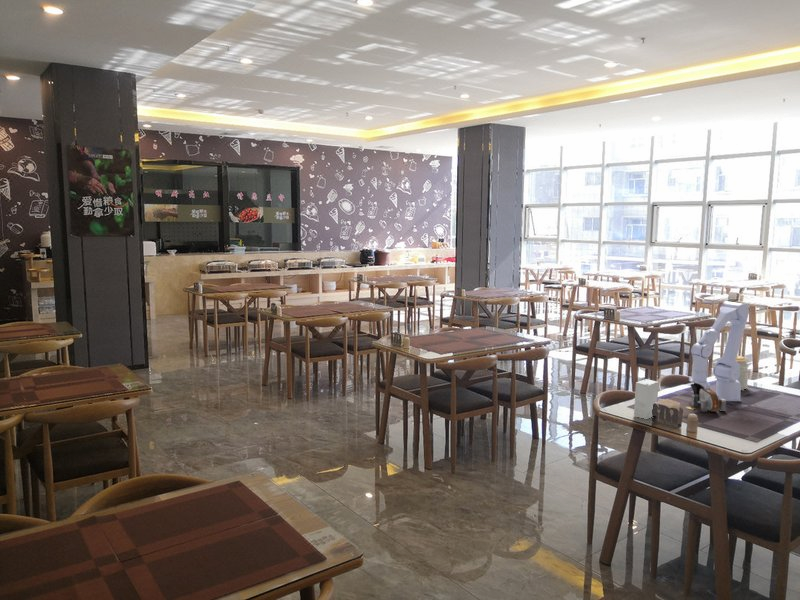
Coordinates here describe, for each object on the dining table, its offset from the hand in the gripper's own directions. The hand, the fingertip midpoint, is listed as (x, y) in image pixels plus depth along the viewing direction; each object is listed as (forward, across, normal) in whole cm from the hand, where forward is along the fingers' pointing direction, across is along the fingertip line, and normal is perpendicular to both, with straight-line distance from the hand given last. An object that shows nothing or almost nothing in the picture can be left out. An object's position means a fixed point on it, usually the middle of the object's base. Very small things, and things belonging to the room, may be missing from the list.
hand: (698, 400), depth 275 cm
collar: (+1, +4, 0) cm, 5 cm away
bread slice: (+1, +9, 0) cm, 9 cm away
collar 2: (+1, +12, 0) cm, 13 cm away
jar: (+1, -26, +30) cm, 39 cm away
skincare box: (+1, +20, -32) cm, 37 cm away
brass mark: (+1, +8, -8) cm, 11 cm away
